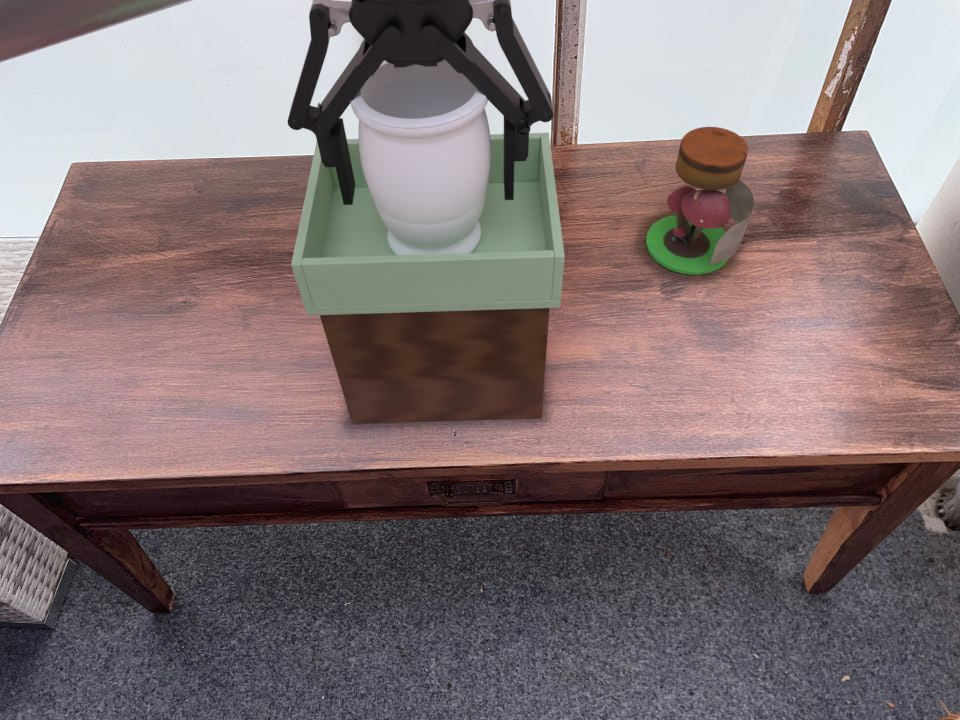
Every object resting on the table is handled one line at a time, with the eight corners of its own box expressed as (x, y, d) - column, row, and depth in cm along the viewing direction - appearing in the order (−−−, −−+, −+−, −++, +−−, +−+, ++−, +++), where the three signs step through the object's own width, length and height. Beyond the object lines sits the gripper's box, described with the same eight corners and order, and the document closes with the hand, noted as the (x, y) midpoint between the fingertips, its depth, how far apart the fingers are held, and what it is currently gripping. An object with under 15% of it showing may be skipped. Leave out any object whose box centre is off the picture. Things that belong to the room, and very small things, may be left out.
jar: (387, 287, 62) (359, 137, 50) (368, 212, 68) (339, 62, 57) (506, 263, 63) (506, 111, 52) (476, 191, 70) (470, 41, 58)
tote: (545, 184, 72) (548, 132, 67) (560, 308, 61) (564, 256, 57) (328, 191, 72) (316, 139, 67) (307, 315, 62) (290, 264, 57)
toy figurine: (643, 281, 88) (664, 181, 76) (640, 213, 96) (659, 113, 84) (742, 287, 87) (780, 186, 75) (731, 218, 95) (764, 117, 83)
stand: (532, 312, 85) (538, 190, 71) (541, 418, 76) (550, 301, 62) (363, 317, 86) (336, 196, 71) (352, 424, 76) (317, 308, 62)
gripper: (594, -110, 47) (570, 161, 64) (216, -98, 48) (289, 169, 64) (609, -63, 43) (579, 216, 59) (189, -49, 43) (276, 225, 59)
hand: (429, 192), depth 62 cm, fingers open, 13 cm apart
